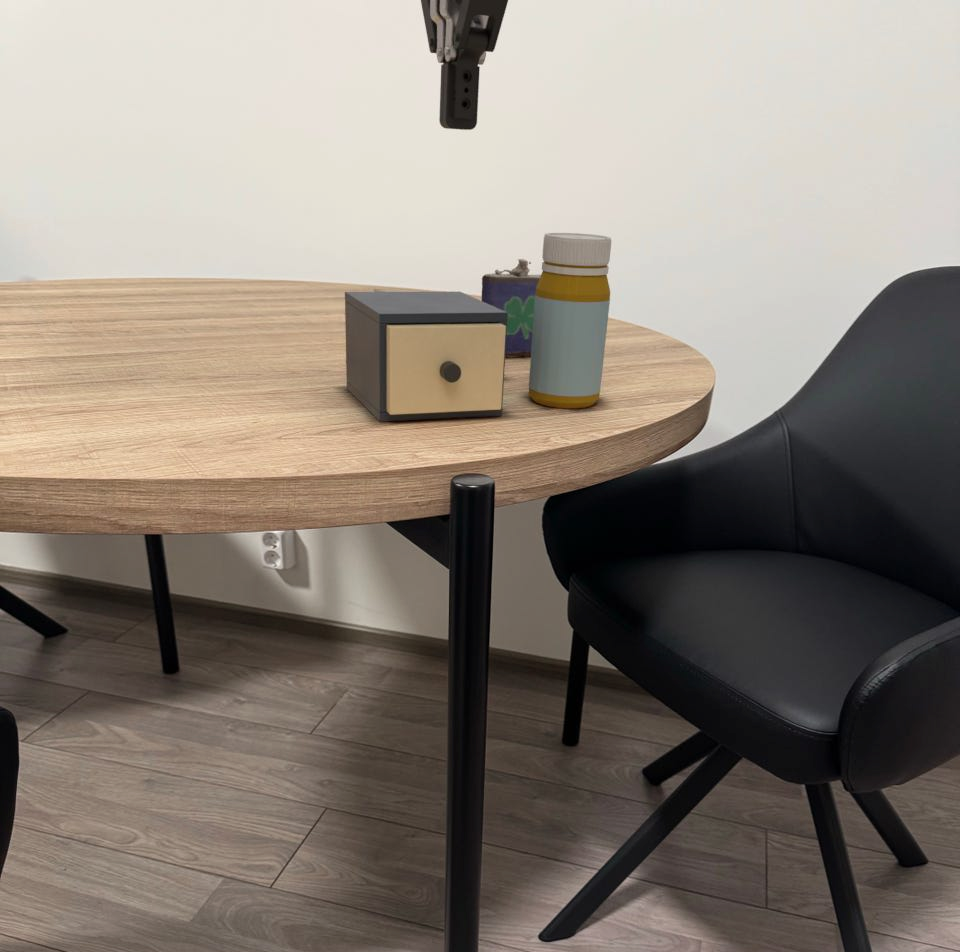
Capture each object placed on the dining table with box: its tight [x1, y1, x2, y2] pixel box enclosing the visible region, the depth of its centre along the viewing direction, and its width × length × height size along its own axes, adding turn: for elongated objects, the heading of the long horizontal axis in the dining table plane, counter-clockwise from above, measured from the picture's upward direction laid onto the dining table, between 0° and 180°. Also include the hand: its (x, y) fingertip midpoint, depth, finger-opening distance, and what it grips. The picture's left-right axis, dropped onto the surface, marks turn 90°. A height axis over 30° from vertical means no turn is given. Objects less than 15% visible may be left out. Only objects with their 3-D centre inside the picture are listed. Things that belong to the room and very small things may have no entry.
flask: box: [481, 258, 541, 358], centre depth 110 cm, size 9×3×11 cm, turn 111°
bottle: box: [528, 232, 612, 409], centre depth 89 cm, size 7×7×15 cm
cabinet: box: [344, 291, 508, 423], centre depth 88 cm, size 13×12×9 cm
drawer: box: [387, 322, 506, 415], centre depth 86 cm, size 13×10×7 cm
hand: (457, 128), depth 64 cm, fingers closed
